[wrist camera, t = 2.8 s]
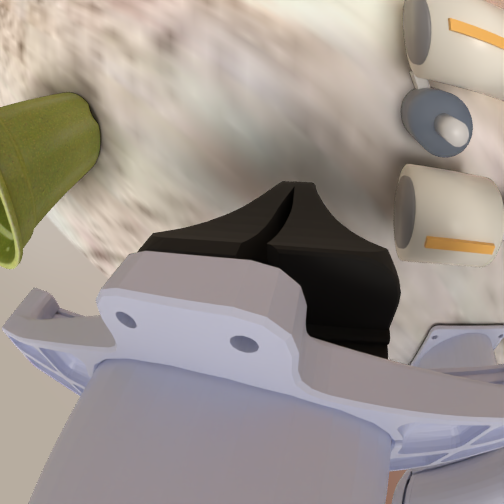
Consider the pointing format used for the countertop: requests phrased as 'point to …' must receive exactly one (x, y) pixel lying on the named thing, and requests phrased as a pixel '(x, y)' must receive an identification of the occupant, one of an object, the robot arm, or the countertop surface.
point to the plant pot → (40, 163)
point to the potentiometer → (436, 119)
